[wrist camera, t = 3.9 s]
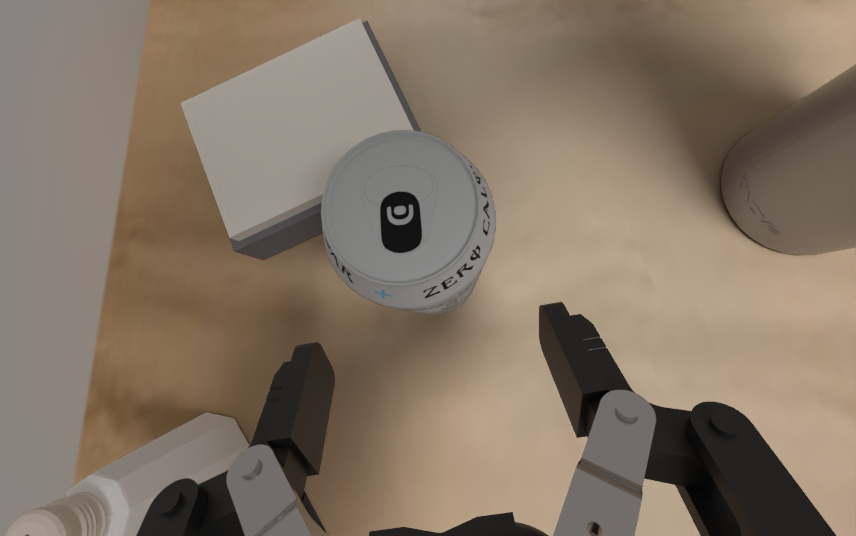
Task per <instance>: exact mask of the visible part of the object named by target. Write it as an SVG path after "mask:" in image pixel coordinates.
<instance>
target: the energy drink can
mask: <svg viewBox="0 0 856 536" xmlns="http://www.w3.org/2000/svg"><path fill="white" fill-rule="evenodd" d="M321 219H322V232H323V240H324V246H325V249H326V252H327V255H328V258H329V261H330V262H331V264H332V266H333V267H334V269H335V271H336V272H337V274H338V276H339V277H340V278H341V279H342V280H343V281H344V282H345V283H346V284H347V285H348V287H349V288H351V289H352V290H354V291H355V292H356V293H358V294H359V295H360V296H362V297H363V298H366V299H368V300H370V301H372V302H374V303H377V304H379V305H383V306H388V307H392V308H397V309H402V310H408V311H414V312H419V313H425V314H440V313H446V312H448V311H451V310H453V309H455V308H456V307H458V306H460V305H461V304H462V303H463V302H464V301H465V300H466V299H467V298H468V297H469V295H470V294H471V292H472V291H473V289H474V286H475V284H476V282H477V280H478V278H479V275H480V273H481V271H482V269H483V266H484V264H485V262H486V260H487V257H488V255H489V253H490V250H491V248H492V245H493V240H494V235H495V230H496V212H495V207H494V202H493V197H492V194H491V192H490V190H489V187H488V185H487V183H486V180H485V179H484V178H483V176H482V175H481V173H480V172H479V170H478V169H477V168H476V166H474V165H473V164H472V163H471V162H470V161H469V160H468V159H467V158H466V157H465V156H464V155H462V154H461V153H459V152H458V151H457V150H456V149H455V148H454V147H453V146H451V145H450V144H448V143H446V142H445V141H443V140H442V139H440V138H438V137H435V136H433V135H430V134H427V133H425V132H419V131H413V130H393V131H389V132H384V133H379V134H377V135H374V136H372V137H369V138H367V139H365V140H363V141H362V142H360V143H359V144H357V145H355V146H354V147H352V148H351V149H350V150H349V151H348V152H347V153H346V154H345V155H344V156H343V157H342V158H341V159H340V160H339V162H338V163H337V164H336V166H335V167H334V168H333V170H332V172H331V174H330V176H329V178H328V180H327V182H326V184H325V188H324V192H323V196H322V203H321Z"/></svg>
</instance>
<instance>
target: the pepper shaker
mask: <svg viewBox="0 0 856 536" xmlns="http://www.w3.org/2000/svg"><path fill="white" fill-rule="evenodd" d="M248 447H249V444H248V442H247V440H246V438H245V437H244V435H243V433H242V431H241V429H240V428H239V426H238V424H237V422H236V420H235V419H234V418H231V417H226V416H222V415H217V414H213V413H208V412H206V413H204V414H202V415H200V416H198V417H196V418H194V419H193V420H191V421H189V422H187V423H185V424H183V425H181V426H179V427H177V428H176V429H174V430H172V431H170V432H168V433H166V434H164V435H162V436H160V437H159V438H157V439H155V440H153V441H151V442H149V443H147V444H145V445H143V446H141V447H140V448H138V449H136V450H134V451H132V452H130V453H128V454H126V455H124V456H123V457H121V458H119V459H117V460H115V461H113V462H111V463H109V464H107V465H106V466H104V467H102V468H100V469H99V470H97V471H95V472H94V473H92V474H90V475H89V476H87V477H86V478H84V479H83V480H81V481H80V482H79V483H77V484H76V485H74V486H73V487H71V488H70V489H69V490H67V491H66V492H65V495H64V498H62V499H59V500H57V501H54V502H53V503H50V504H48V505H47V506H45V507H40V508H37V509H34V510H31V511H28V512H26V513H24V514H23V515H21V516H20V517H18V518H17V519H16V520H15V522H14V523H13V524H12V525H11V526H10V528H9V529H8V531H7V533H6V535H5V536H136V535H137V533H138V531H139V529H140V526H141V524H142V522H143V520H144V517H145V515H146V513H147V511H148V509H149V507H150V505H151V503H152V502H153V500H154V499H155V498H156V496H157V495H158V494H159V493H160V492H161V491H162V490H163V489H164V488H165V487H167V486H168V485H170V484H171V483H173V482H175V481H177V480H180V479H184V478H189V479H192V480H194V481H195V482H196V483H197V484H200V483H202V482H204V481H206V480H209V479H211V478H213V477H215V476H217V475H219V474H221V473H223V472H225V471H227V470H229V468H230V466H231V464H232V463H233V461H234V460H235V459H236V458H237V457H238V456H239V455H240V454H241V453H242V452H243V451H245V450H246V449H248Z"/></svg>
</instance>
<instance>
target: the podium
mask: <svg viewBox="0 0 856 536" xmlns="http://www.w3.org/2000/svg"><path fill="white" fill-rule="evenodd" d="M180 104H181V106H182V109H183V112H184V115H185V117H186V120H187V123H188V126H189V128H190V131H191V134H192V137H193V139H194V142H195V145H196V148H197V150H198V153H199V156H200V159H201V161H202V164H203V167H204V170H205V172H206V175H207V178H208V180H209V183H210V186H211V189H212V191H213V194H214V197H215V200H216V202H217V205H218V208H219V211H220V213H221V216H222V219H223V222H224V224H225V227H226V230H227V233H228V235H229V238H230V240H231V243H232V246H233V249H234V251H235V252H238V253H241V254H245V255H248V256H251V257H254V258H258V259H261V260H265V259H267V258H269V257H271V256H274V255H276V254H278V253H280V252H282V251H284V250H287V249H289V248H291V247H293V246H295V245H297V244H299V243H302V242H304V241H306V240H308V239H310V238H312V237H315V236H317V235H319V234H321V233H323V232H322V219H321V203H322V196H323V192H324V188H325V184H326V182H327V180H328V178H329V176H330V174H331V172H332V170H333V168H334V167H335V166H336V164H337V163H338V162H339V160H340V159H341V158H342V157H343V156H344V155H345V154H346V153H347V152H348V151H349V150H350V149H351V148H352V147H354V146H355V145H357V144H359V143H360V142H362V141H363V140H365V139H367V138H369V137H372V136H374V135H377V134H379V133H384V132H389V131H393V130H413V131H419V132H421V130H420V128H419V126H418V124H417V122H416V120H415V118H414V116H413V114H412V112H411V110H410V108H409V106H408V104H407V102H406V100H405V97H404V95H403V93H402V91H401V89H400V87H399V85H398V83H397V81H396V79H395V77H394V75H393V73H392V71H391V69H390V67H389V65H388V62H387V60H386V58H385V56H384V54H383V52H382V50H381V48H380V46H379V44H378V42H377V40H376V38H375V36H374V34H373V32H372V30H371V27H370V25H369V23H368V21H366V22H364V23H362V22H361V20H360V18H358V19H356V20H354V21H352V22H350V23H347V24H345V25H343V26H341V27H339V28H337V29H335V30H333V31H331V32H329V33H326V34H324V35H322V36H320V37H318V38H316V39H314V40H312V41H310V42H308V43H305V44H303V45H301V46H299V47H297V48H295V49H293V50H291V51H289V52H287V53H284V54H282V55H280V56H278V57H276V58H274V59H272V60H270V61H268V62H265V63H263V64H261V65H259V66H257V67H255V68H253V69H251V70H249V71H247V72H244V73H242V74H240V75H238V76H236V77H234V78H232V79H230V80H228V81H226V82H223V83H221V84H219V85H217V86H215V87H213V88H211V89H209V90H207V91H205V92H202V93H200V94H198V95H196V96H194V97H192V98H190V99H188V100H186V101H184V102H181V103H180Z"/></svg>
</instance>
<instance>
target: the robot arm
mask: <svg viewBox="0 0 856 536" xmlns="http://www.w3.org/2000/svg"><path fill="white" fill-rule="evenodd" d="M721 190H722V194H723V199H724V203H725V205H726V207H727V209H728V211H729V213H730V215H731V217H732V218H733V220H734V221H735V222H736V223H737V225H738V226H739V227H740V229H742V230H743V231H744V232H745V233H746V234H747V235H748V236H750V237H751V238H752V239H753V240H755V241H757V242H758V243H760V244H762V245H764V246H765V247H767V248H770V249H773V250H776V251H778V252H781V253H786V254H793V255H817V254H823V253H828V252H834V251H839V250H845V249H850V248H856V64H855V65H854V66H852V67H851V68H849V69H848V70H846V71H845V72H843V73H841V74H840V75H838V76H837V77H835V78H834V79H832V80H831V81H829V82H828V83H826V84H824V85H823V86H821V87H820V88H818V89H817V90H815V91H814V92H812V93H810V94H809V95H807V96H806V97H804V98H802V99H801V100H799V101H798V102H796V103H795V104H793V105H791V106H790V107H788V108H787V109H785V110H784V111H782V112H781V113H779V114H777V115H776V116H774V117H773V118H771V119H770V120H768V121H767V122H765V123H764V124H762V125H760V126H759V127H757V128H756V129H754V130H753V131H751V132H750V133H748V134H747V135H746V136H744V137H743V138H742V139H740V140H739V141H738V142H737V143H736V145H735V146H734V147H733V148H732V149H731V151H730V152H729V154H728V156H727V158H726V160H725V162H724V166H723V170H722V174H721ZM539 339H540V344H541V348H542V351H543V354H544V356H545V359H546V361H547V364H548V366H549V369H550V371H551V374H552V376H553V379H554V381H555V384H556V386H557V389H558V391H559V394H560V397H561V399H562V402H563V404H564V407H565V409H566V412H567V414H568V417H569V419H570V422H571V424H572V427H573V429H574V432H575V434H576V437H577V438H578V437H585V436H587V437H588V440H587V443H586V446H585V449H584V452H583V455H582V458H581V460H580V461H579V462H578V465H577V467H576V470H575V472H574V475H573V478H572V481H571V484H570V487H569V490H568V493H567V496H566V499H565V502H564V505H563V508H562V511H561V514H560V517H559V520H558V523H557V526H556V529H555V532H554V535H553V536H634V535H635V530H636V525H637V520H638V516H639V511H640V506H641V500H642V487H643V481H644V479H649V480H654V481H659V482H664V483H669V484H674V485H676V487H677V489H678V491H679V493H680V495H681V497H682V499H683V501H684V503H685V505H686V507H687V509H688V511H689V513H690V515H691V517H692V519H693V521H694V523H695V525H696V527H697V529H698V531H699V533H700V535H701V536H836V535H835V533H834V532H833V531H832V529H831V528H830V527H829V525H828V524H827V523H826V521H825V520H824V519H823V517H822V516H821V515H820V513H819V512H818V511H817V509H816V508H815V507H814V505H813V504H812V503H811V501H810V500H809V499H808V497H807V496H806V495H805V493H804V492H803V491H802V489H801V488H800V487H799V485H798V484H797V483H796V481H795V480H794V479H793V477H792V476H791V475H790V473H789V472H788V471H787V469H786V468H785V467H784V465H783V464H782V463H781V461H780V460H779V459H778V457H777V456H776V455H775V453H774V452H773V451H772V449H771V448H770V447H769V445H768V444H767V443H766V441H765V440H764V439H763V437H762V436H761V435H760V433H759V432H758V431H757V429H756V428H755V427H754V425H753V424H752V423H751V422H750V420H749V419H748V418H747V417H746V416H745V415H743V414H742V413H741V412H739V411H738V410H736V409H734V408H732V407H730V406H728V405H725V404H722V403H718V402H703V403H700V404H698V405H696V406H695V407H694V408H693V409H692V411H686V410H679V409H672V408H665V407H660V406H656V405H653V404H651V403H649V402H647V401H646V400H645V399H644V398H643V397H641V396H640V395H638V394H636V393H635V392H634V391H633V390H632V389H631V388H630V386H629V385H628V383H627V381H626V380H625V378H624V376H623V374H622V373H621V371H620V369H619V368H618V366H617V364H616V362H615V361H614V359H613V357H612V356H611V354H610V352H609V351H608V349H606V345H605V344H604V342H603V340H602V339H601V338H600V335H599V334H598V332H597V330H596V328H595V327H594V325H593V324H592V323H591V322H590V321H589V320H587V319H586V318H585V317H583V316H582V315H581V314H578V315H572V316H570V315H569V313H568V311H567V309H566V307H565V306H564V304H563V303H562V302H558V303H552V304H546V305H540V307H539ZM334 384H335V377H334V371H333V368H332V366H331V364H330V362H329V360H328V358H327V356H326V354H325V352H324V351H323V349H322V347H321V345H320V344H319V343H318V342H315V343H309V344H303V345H298V346H296V347H295V349H294V352H293V356H292V359H291V361H290V362H284V363H283V365H282V366H281V367H280V369H279V370H278V371H277V373H276V374H275V375H274V378H273V381H272V384H271V387H270V391H269V393H268V396H267V399H266V400H267V402H265V405H264V408H263V411H262V414H261V417H260V420H259V423H258V426H257V429H256V432H255V435H254V438H253V440H252V443H251V446H250V448H248V449H246V450H245V451H243V452H242V453H241V454H240V455H239V456H238V457H237V458H236V459H235V460H234V461H233V463H232V464H231V466H230V468H229V470H227V471H225V472H223V473H221V474H219V475H217V476H215V477H213V478H211V479H209V480H206V481H204V482H202V483H200V484H197V483H196V482H195V481H194V480H192V479H189V478H184V479H180V480H177V481H175V482H173V483H171V484H170V485H168V486H167V487H165V488H164V489H163V490H162V491H161V492H160V493H159V494H158V495H157V496H156V498H155V499H154V500H153V502H152V503H151V505H150V507H149V509H148V511H147V513H146V515H145V517H144V520H143V522H142V524H141V526H140V529H139V531H138V533H137V535H136V536H331V535H330V533H329V531H328V530H327V528H326V526H325V524H324V522H323V520H322V518H321V517H320V515H319V513H318V511H317V509H316V507H315V505H314V504H313V502H312V500H311V498H310V496H309V494H308V492H307V491H306V489H305V483H306V478H307V476H311V475H318V474H319V470H320V464H321V459H322V453H323V447H324V442H325V436H326V430H327V424H328V419H329V413H330V407H331V401H332V396H333V390H334ZM369 536H549V535H547V534H545V533H544V532H542V531H540V530H538V529H536V528H534V527H532V526H529V525H526V524H523V523H517V522H515V521H514V517H513V512H510V513H503V514H495V515H488V516H481V517H476V518H474V519H471V520H469V521H467V522H465V523H463V524H461V525H459V526H456V527H454V528H452V529H450V530H448V531H446V532H443V533H435V532H429V531H424V530H418V529H413V528H407V527H400V528H393V529H385V530H378V531H371V532H369Z"/></svg>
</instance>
